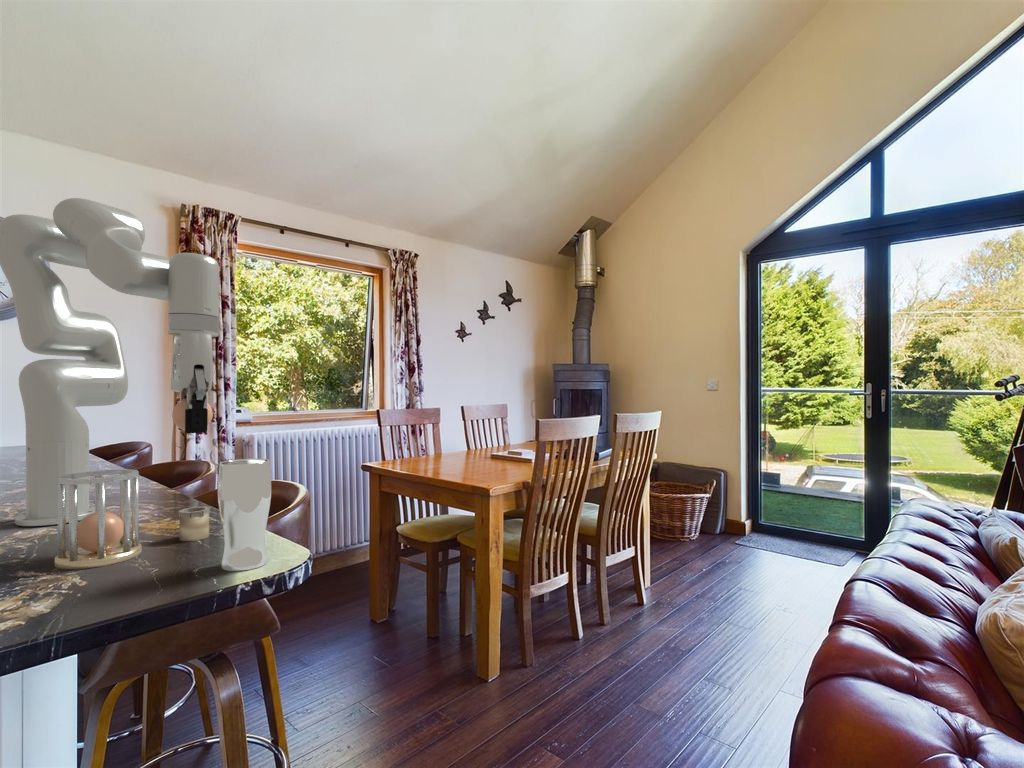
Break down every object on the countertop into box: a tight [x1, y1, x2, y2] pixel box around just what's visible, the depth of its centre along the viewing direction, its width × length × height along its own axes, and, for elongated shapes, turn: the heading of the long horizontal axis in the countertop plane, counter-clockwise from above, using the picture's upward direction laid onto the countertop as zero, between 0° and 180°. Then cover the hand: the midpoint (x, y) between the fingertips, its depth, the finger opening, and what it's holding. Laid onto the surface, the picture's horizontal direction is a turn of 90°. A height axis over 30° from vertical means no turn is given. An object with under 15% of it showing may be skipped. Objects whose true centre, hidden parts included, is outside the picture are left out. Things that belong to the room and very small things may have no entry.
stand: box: [178, 506, 211, 542], centre depth 91 cm, size 4×4×5 cm
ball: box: [78, 510, 123, 552], centre depth 81 cm, size 6×6×6 cm
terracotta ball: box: [171, 398, 214, 432], centre depth 91 cm, size 6×6×6 cm
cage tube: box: [54, 468, 142, 570], centre depth 81 cm, size 10×10×13 cm
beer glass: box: [217, 458, 272, 572], centre depth 77 cm, size 7×7×15 cm
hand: (192, 430), depth 91 cm, fingers closed on terracotta ball, 5 cm apart
